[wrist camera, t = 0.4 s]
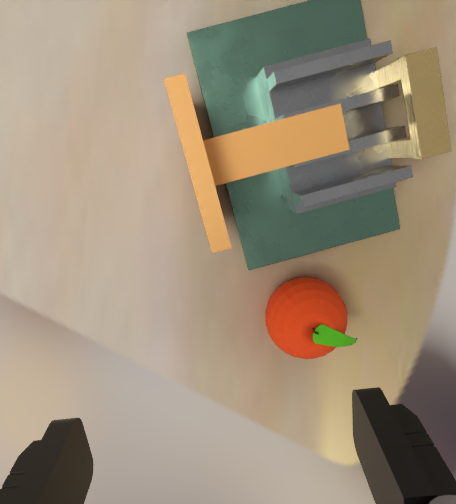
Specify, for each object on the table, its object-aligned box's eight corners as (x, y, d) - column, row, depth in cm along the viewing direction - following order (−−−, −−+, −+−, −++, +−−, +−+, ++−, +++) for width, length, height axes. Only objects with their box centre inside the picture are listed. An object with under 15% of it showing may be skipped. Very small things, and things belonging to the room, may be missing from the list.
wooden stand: (174, 105, 35) (163, 78, 23) (299, 71, 35) (350, 29, 24) (206, 224, 37) (212, 253, 26) (325, 192, 37) (382, 206, 26)
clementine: (354, 285, 41) (387, 311, 34) (326, 351, 42) (352, 389, 35) (275, 258, 39) (292, 279, 33) (249, 326, 41) (260, 360, 34)
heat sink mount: (187, 36, 35) (183, -16, 25) (353, -8, 35) (419, -77, 25) (247, 267, 39) (266, 305, 29) (395, 227, 40) (465, 250, 29)
